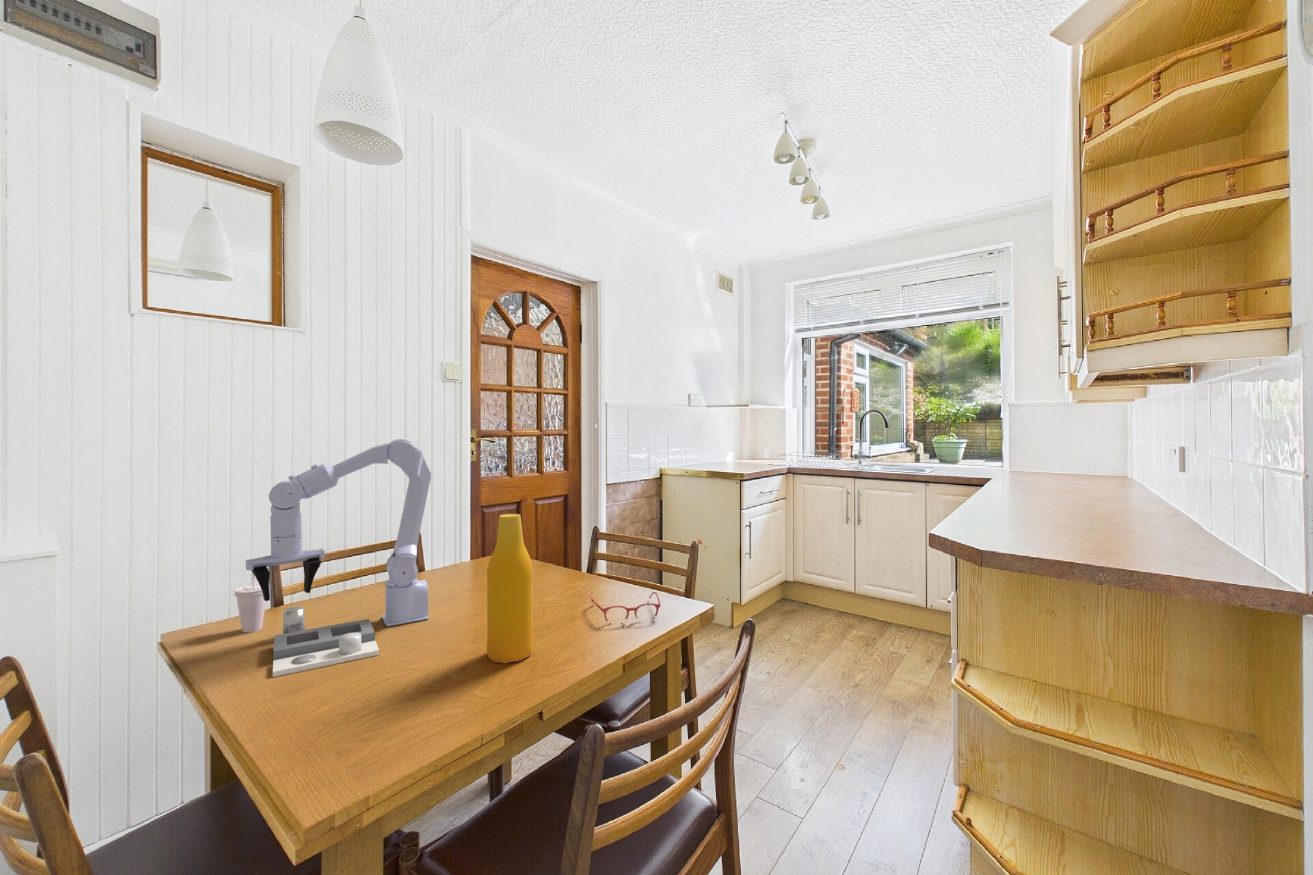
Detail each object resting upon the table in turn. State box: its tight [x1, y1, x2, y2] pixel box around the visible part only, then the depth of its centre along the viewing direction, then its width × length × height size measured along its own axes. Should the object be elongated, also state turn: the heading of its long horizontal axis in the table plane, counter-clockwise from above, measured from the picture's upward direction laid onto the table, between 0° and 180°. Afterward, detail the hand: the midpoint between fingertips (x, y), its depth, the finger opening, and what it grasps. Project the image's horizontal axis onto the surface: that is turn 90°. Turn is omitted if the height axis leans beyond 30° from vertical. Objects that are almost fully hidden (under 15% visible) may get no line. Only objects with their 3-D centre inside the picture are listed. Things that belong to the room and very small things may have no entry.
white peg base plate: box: [272, 633, 380, 678], centre depth 109 cm, size 18×6×4 cm, turn 124°
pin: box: [282, 606, 305, 634], centre depth 122 cm, size 4×4×6 cm
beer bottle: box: [486, 513, 534, 663], centre depth 112 cm, size 9×9×29 cm
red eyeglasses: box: [590, 591, 661, 622], centre depth 138 cm, size 17×16×5 cm
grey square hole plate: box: [272, 618, 376, 661], centre depth 117 cm, size 18×10×2 cm, turn 124°
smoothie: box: [233, 571, 267, 633], centre depth 126 cm, size 6×6×14 cm
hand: (287, 595), depth 121 cm, fingers open, 7 cm apart
